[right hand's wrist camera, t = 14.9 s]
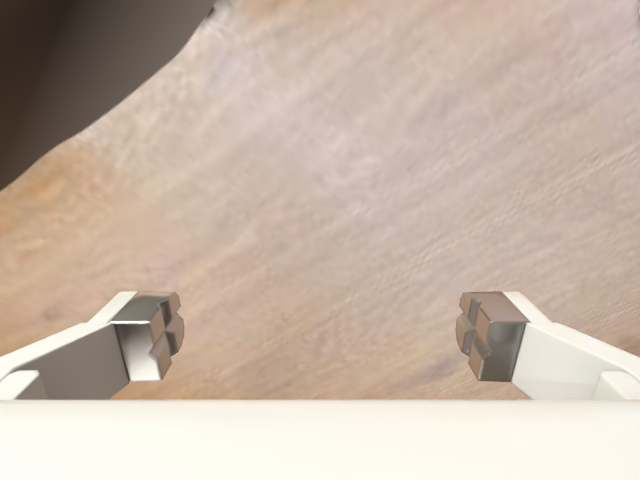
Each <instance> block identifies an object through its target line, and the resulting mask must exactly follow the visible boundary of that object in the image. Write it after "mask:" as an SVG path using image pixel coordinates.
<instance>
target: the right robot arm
mask: <svg viewBox="0 0 640 480" xmlns="http://www.w3.org/2000/svg"><path fill="white" fill-rule="evenodd" d="M639 13H640V5H639ZM180 306H181V304H180V300H179V295H178V294H177V293H176V292H143V291H142V292H140V291H124V292H119V293H118V294H117V295H116V296H115V297H114V298H113V299H112V300H111V301H110V302H109V303H108V304H107V305H106V306H105V307H104V308H102V309H101V310H100V311H99V312H98V313H97V314H96V315H95V316H94V317H93V318H92V319H91V320H90V321H89V322H88V323H80V324H78V325H75V326H73V327H71V328H68V329H66V330H64V331H61V332H59V333H56V334H54V335H52V336H49V337H47V338H45V339H42V340H40V341H37V342H35V343H33V344H30V345H28V346H26V347H23V348H21V349H18V350H16V351H14V352H11V353H9V354H7V355H4V356H2V357H0V480H640V357H638V356H636V355H633V354H631V353H628V352H626V351H624V350H621V349H619V348H617V347H614V346H612V345H610V344H607V343H605V342H602V341H600V340H598V339H595V338H593V337H591V336H588V335H586V334H584V333H581V332H579V331H576V330H574V329H572V328H569V327H567V326H565V325H562V324H560V323H552V322H551V321H550V320H549V319H548V318H547V317H546V316H545V315H544V314H543V313H542V312H541V311H540V310H539V309H538V308H537V307H535V306H534V305H533V304H532V303H531V302H530V301H529V300H528V299H527V298H526V297H525V296H524V295H523V294H522V293H521V292H518V291H505V292H466V293H463V294H462V296H461V299H460V304H459V306H460V308H461V309H462V311H463V313H462V314H461V315H460V316H459V318H458V319H457V322H456V339H457V342H458V345H459V347H460V349H461V351H462V352H463V353H464V354H466V355H468V356H469V361H468V364H469V365H470V367H471V369H472V371H473V372H474V374H475V376H476V378H477V379H478V381H498V382H511V384H513V385H514V386H515V387H516V388H518V389H519V390H520V391H522V392H523V393H524V394H526V395H527V396H528V397H530V398H531V399H532V400H108V399H109V398H111V397H112V396H113V395H114V394H116V393H117V392H118V391H120V390H121V389H122V388H124V387H125V386H126V385H128V384H129V382H141V381H162V380H163V378H164V376H165V374H166V372H167V371H168V369H169V367H170V365H171V364H172V361H171V356H172V355H174V354H176V353H177V352H178V351H179V349H180V347H181V345H182V342H183V338H184V322H183V319H182V318H181V316H180V315H179V314H178V313H177V311H178V309H179V308H180Z"/></svg>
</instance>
